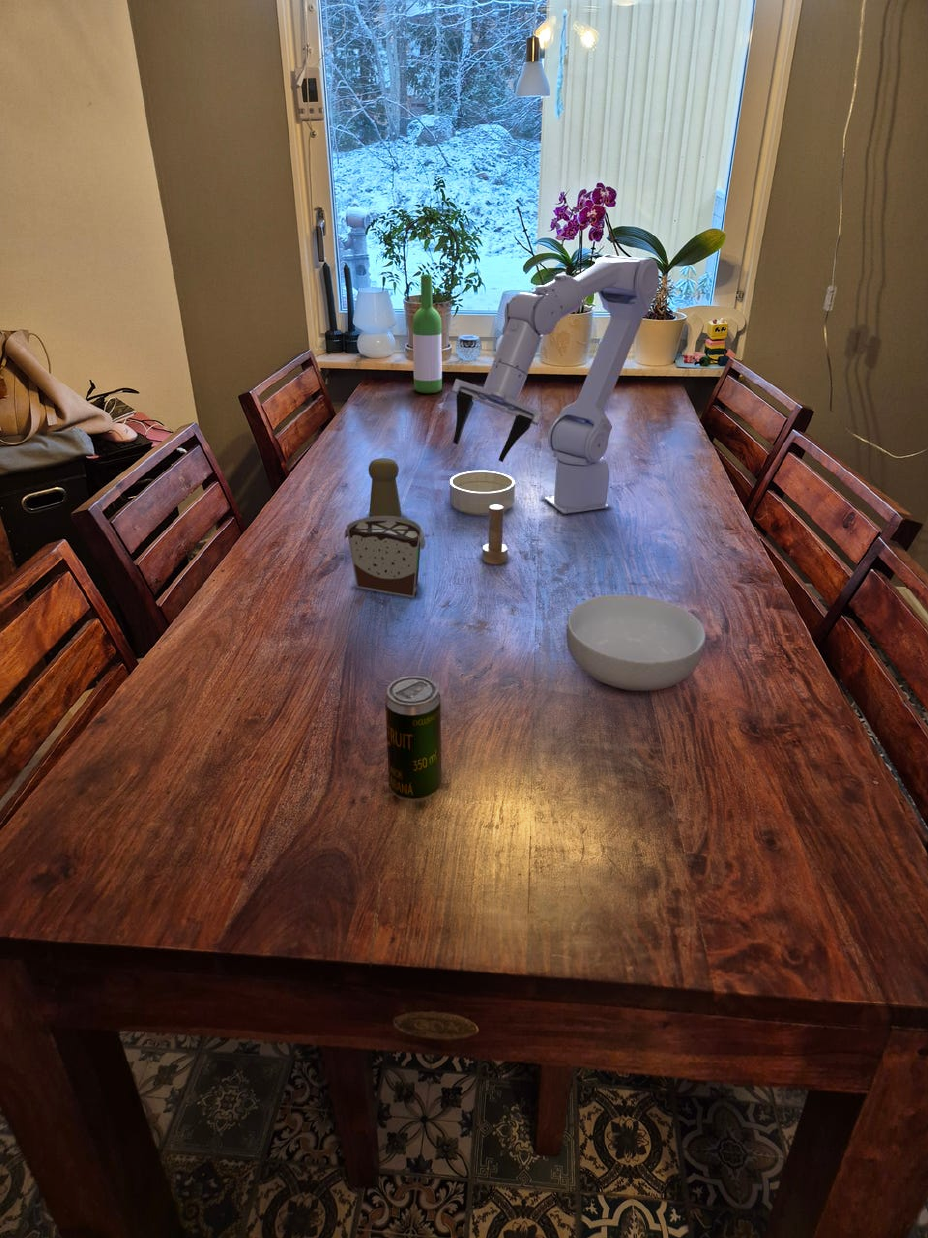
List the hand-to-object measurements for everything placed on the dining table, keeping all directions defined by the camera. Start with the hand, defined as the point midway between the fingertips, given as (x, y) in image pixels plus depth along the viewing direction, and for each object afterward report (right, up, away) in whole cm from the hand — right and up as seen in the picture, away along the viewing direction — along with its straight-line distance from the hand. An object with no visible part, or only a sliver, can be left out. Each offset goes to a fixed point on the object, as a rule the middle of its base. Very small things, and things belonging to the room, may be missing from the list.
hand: (477, 451), depth 129 cm
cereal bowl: (+19, -33, -26) cm, 46 cm away
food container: (-13, -21, -5) cm, 25 cm away
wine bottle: (-12, +37, +99) cm, 106 cm away
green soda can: (-7, -44, -45) cm, 63 cm away
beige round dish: (+1, -5, +24) cm, 25 cm away
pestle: (+3, -17, +3) cm, 17 cm away
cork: (-16, -9, +17) cm, 25 cm away
